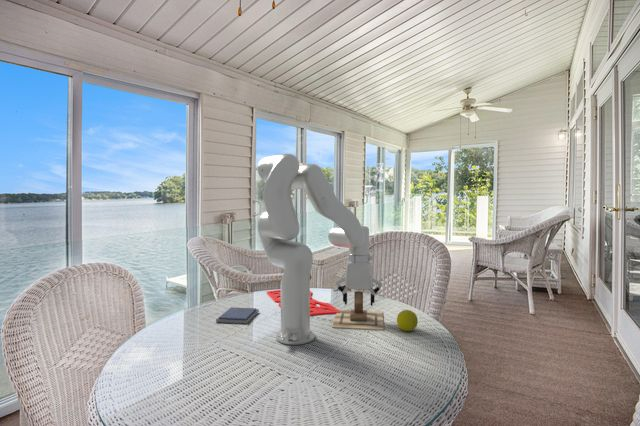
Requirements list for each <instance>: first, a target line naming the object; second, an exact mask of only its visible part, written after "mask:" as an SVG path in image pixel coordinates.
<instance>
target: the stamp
mask: <svg viewBox="0 0 640 426" xmlns="http://www.w3.org/2000/svg"><path fill="white" fill-rule="evenodd" d="M353 298H354V308H353V309H350V310H351V313H350V321H363V322H367V311H368V310H367V309H364V292H363V291H362V290H358V291H357V290H355V291H354V297H353Z"/></svg>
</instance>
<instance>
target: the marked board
mask: <svg viewBox="0 0 640 426" xmlns="http://www.w3.org/2000/svg"><path fill="white" fill-rule="evenodd" d="M338 310H339V311H341V312H340V313H336V314H335V316H334V319H333V323H332V328H331V329H347V330H351V329H353V330H370V331H385V329H384V328H385V327H384V317H383V311H374V310H372V311H371V310H370V311H369V310H367V322H363V321H350V313H351V309H350V310H349V309H348V310H345V309H338Z"/></svg>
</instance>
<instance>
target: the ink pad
mask: <svg viewBox="0 0 640 426" xmlns="http://www.w3.org/2000/svg"><path fill="white" fill-rule="evenodd" d="M258 312H260V309H259V308H254V307H230V308H228V309H227V310H226V311H224V312H223V313H222V314H221V315H220V316H219V317H217V318H215V323H216V322H221V323H220V324H236V323H239V324H240V325H241V324H242V323H243V324H242V325H249V323H250V322H251V321H252V320H253V319H254V318H255V317H256V316H257V315H258V314H259V313H258ZM257 313H258V314H257ZM256 314H257V315H256ZM255 315H256V316H255ZM254 316H255V317H254ZM253 317H254V318H253Z"/></svg>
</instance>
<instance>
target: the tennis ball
mask: <svg viewBox="0 0 640 426" xmlns="http://www.w3.org/2000/svg"><path fill="white" fill-rule="evenodd" d="M418 320H419V319H418V316H417V314H416V313H415V312H414V311H412V310H409V309H404V310H402V311H400V312H399V313H398V314H397V317H396V324H397V327H398V328H399V329H400V330H403V331H404V332H412V331H413V330H415V329H416V328H417V326H418V322H419V321H418Z"/></svg>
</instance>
